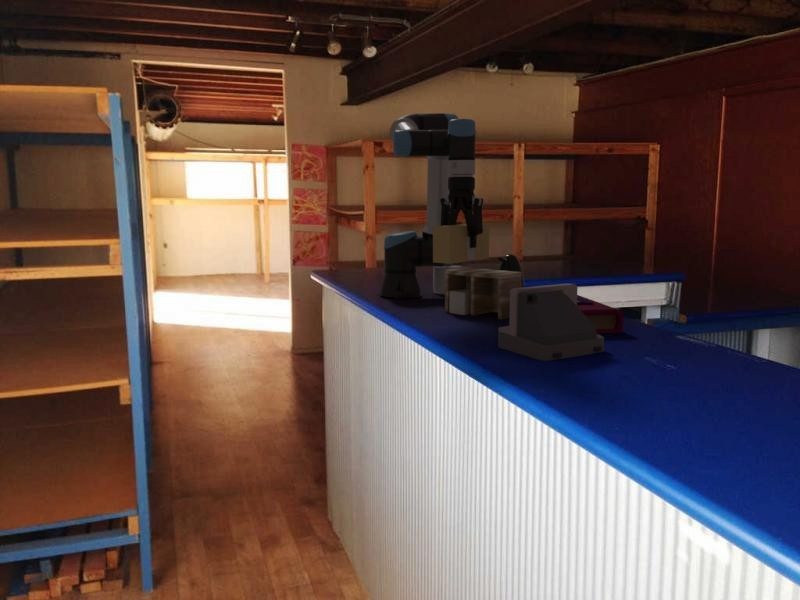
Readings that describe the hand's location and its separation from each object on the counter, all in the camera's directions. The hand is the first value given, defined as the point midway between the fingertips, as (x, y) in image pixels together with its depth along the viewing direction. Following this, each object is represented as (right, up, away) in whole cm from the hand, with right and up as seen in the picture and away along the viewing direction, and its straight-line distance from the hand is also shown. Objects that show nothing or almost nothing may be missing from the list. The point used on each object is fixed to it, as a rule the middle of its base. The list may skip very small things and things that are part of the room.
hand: (460, 258), depth 195 cm
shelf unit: (+8, -16, +18) cm, 25 cm away
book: (+29, -19, -2) cm, 35 cm away
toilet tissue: (+1, -9, +64) cm, 65 cm away
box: (+3, -16, +20) cm, 26 cm away
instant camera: (+19, -24, -32) cm, 44 cm away
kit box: (0, 0, 0) cm, 1 cm away
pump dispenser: (+23, -10, +55) cm, 60 cm away
